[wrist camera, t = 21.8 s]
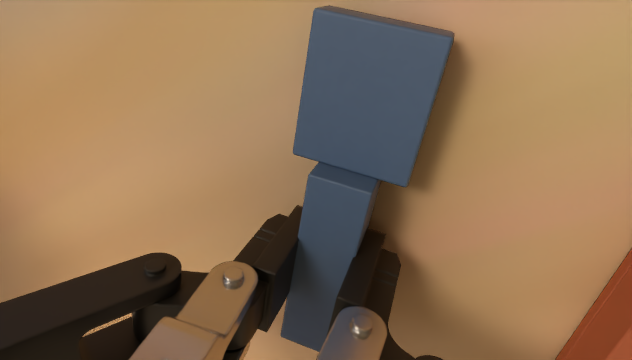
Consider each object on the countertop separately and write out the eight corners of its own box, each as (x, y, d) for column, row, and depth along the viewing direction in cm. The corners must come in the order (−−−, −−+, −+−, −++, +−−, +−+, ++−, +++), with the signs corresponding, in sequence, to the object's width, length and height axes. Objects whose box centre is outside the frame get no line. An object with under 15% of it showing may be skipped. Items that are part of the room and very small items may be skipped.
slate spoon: (364, 322, 15) (351, 365, 13) (281, 291, 16) (258, 328, 14) (455, 31, 10) (453, 42, 8) (327, 4, 11) (301, 9, 9)
